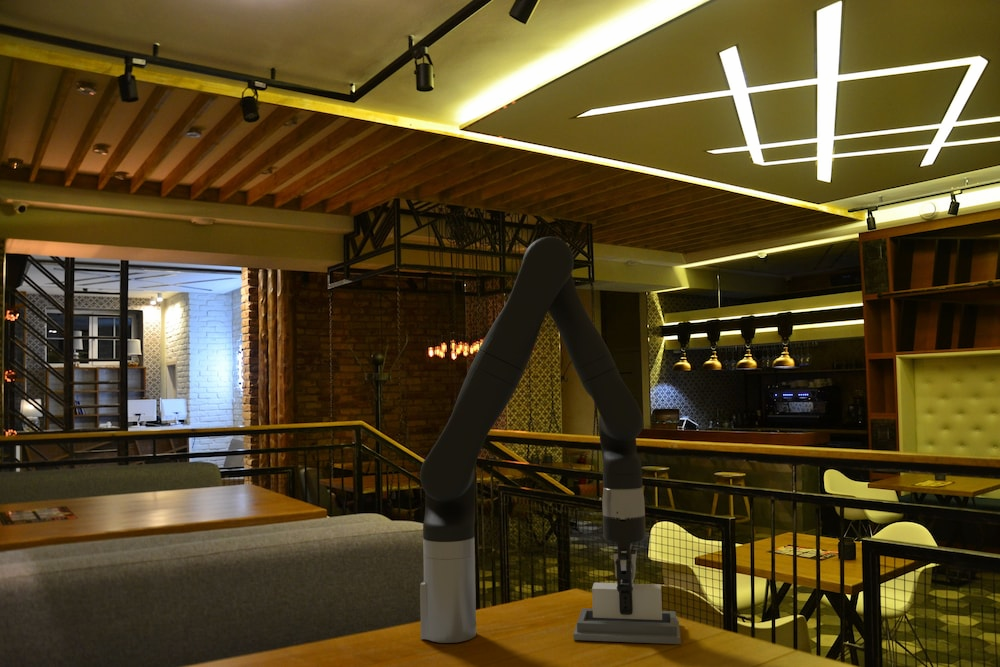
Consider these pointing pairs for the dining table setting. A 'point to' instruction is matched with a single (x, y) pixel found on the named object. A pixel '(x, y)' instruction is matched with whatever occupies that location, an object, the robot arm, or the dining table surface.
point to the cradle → (628, 629)
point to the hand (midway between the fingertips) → (626, 609)
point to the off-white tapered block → (643, 601)
